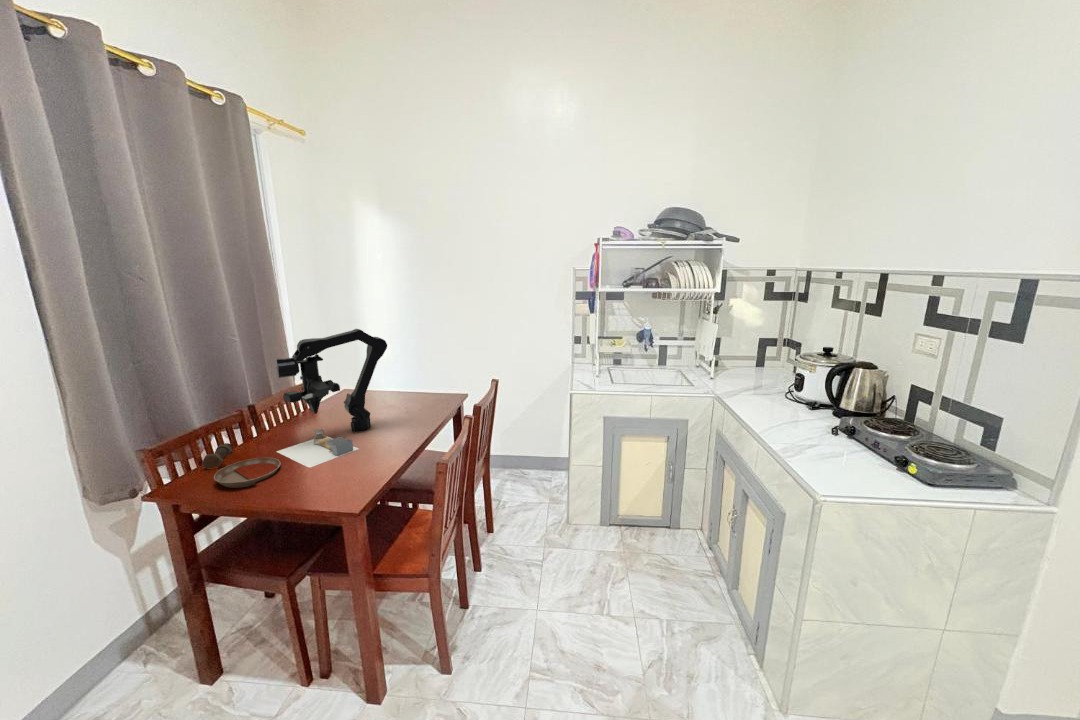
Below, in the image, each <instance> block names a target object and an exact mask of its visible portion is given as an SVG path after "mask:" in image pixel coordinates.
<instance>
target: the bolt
mask: <svg viewBox="0 0 1080 720" xmlns="http://www.w3.org/2000/svg"><path fill="white" fill-rule="evenodd" d="M233 446H234V445H233V444H231V443H227V442H226V443H224V444H220V445H218V446H217V447H216V449H215V451H214V453H207V454H205V456H204V457H203V460H202V461H201V465H202V466H203V468H204V469H206V468H214V467H219V466H220V465H222V463H223V461H224V458H225V457H226V456H227V455H230V454H231V453H232V452H233V449H234V447H233ZM220 467H221V466H220ZM220 467H219V468H220Z"/></svg>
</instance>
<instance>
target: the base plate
mask: <svg viewBox="0 0 1080 720" xmlns="http://www.w3.org/2000/svg"><path fill="white" fill-rule="evenodd" d="M324 435H325V434H324ZM325 436H326V437H327V438H330V439H334V438H333V437H330V436H328V435H325ZM358 450H360V447H359V448H358V447H355V446H353V451H350V452H348V453H345V454H343V455H340V456H335V455H333V453H332V450H331V449H328V448H326V447H324V446H321V445H319V444H314V440H313V439H312V438H311V439H310V440H306V441H304V442H300V443H298V444H294V445H291V446H288V447H285V448H283V449H280V450H277V451H275V452H276V453H278V454H280V455H282V456H284V457H286V458H288V459H289V460H290V459H291V460H292V461H294V462H296V463H298V464H300V465H303V466H304V467H307V468H309V469H310V468H312V467H313V468H314V467H315V466H318V465H321V464H324V463H327V462H329V461H332V460H334V459H336V458H339V457H341V456H342V457H343V456H345V455H347V454H350V453H352V452H355V451H358Z"/></svg>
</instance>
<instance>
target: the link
mask: <svg viewBox="0 0 1080 720" xmlns="http://www.w3.org/2000/svg"><path fill="white" fill-rule="evenodd" d="M324 433H325V430H324V429H322V428H321V429H316V430H314V435H316V436H314V437H313V436H312V437H313V440H314V444H319V445H321V446H324V447H326V448H328V449H331V450H332V446H329V445H327V441H329V440H332V439H330V438H327V437H326V436H327V435H326V436H325V434H324Z"/></svg>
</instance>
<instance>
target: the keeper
mask: <svg viewBox="0 0 1080 720" xmlns="http://www.w3.org/2000/svg"><path fill="white" fill-rule="evenodd" d="M327 445H329V446H332V453H333V455H335V456H339V457H341V456H340V455H342V456H344V455H343V454H345V453H347V454H349V453H348V452H350V451H352V452H354V451H353V445H354V444H353V440H352V439H349V438H344V437H342V436H338V437H335V438H333V439H332V440H329V441H327ZM350 453H351V452H350ZM345 455H346V454H345Z"/></svg>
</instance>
